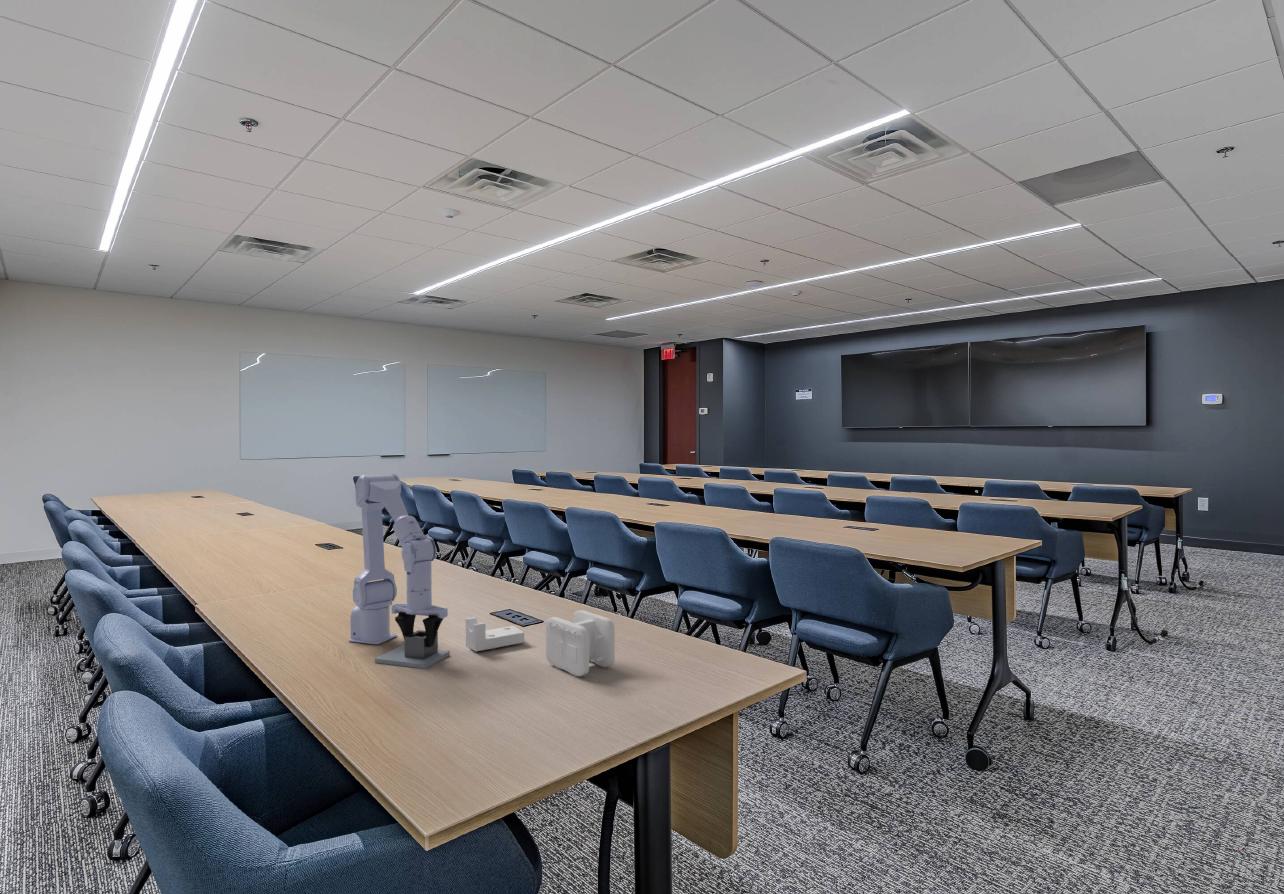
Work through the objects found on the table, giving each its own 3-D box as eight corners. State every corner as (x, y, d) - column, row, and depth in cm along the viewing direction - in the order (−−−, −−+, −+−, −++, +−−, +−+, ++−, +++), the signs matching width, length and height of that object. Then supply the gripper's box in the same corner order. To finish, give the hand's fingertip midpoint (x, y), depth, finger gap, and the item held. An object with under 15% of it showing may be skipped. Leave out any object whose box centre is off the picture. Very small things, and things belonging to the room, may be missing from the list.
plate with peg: (374, 662, 162) (374, 643, 161) (401, 649, 171) (401, 631, 171) (424, 668, 157) (424, 649, 157) (449, 655, 167) (449, 636, 167)
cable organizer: (617, 670, 156) (617, 620, 156) (581, 681, 149) (581, 629, 149) (578, 654, 168) (578, 607, 167) (543, 664, 161) (543, 615, 160)
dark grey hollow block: (404, 657, 162) (404, 636, 162) (418, 650, 168) (418, 630, 167) (424, 659, 161) (424, 638, 161) (437, 652, 166) (437, 632, 166)
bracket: (475, 655, 168) (475, 624, 168) (465, 647, 174) (465, 618, 174) (524, 645, 175) (523, 616, 175) (513, 638, 181) (513, 610, 181)
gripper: (383, 590, 162) (383, 646, 162) (435, 594, 157) (435, 652, 157) (401, 584, 168) (402, 638, 169) (452, 588, 164) (452, 643, 164)
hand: (419, 644), depth 163 cm, fingers closed on dark grey hollow block, 5 cm apart
